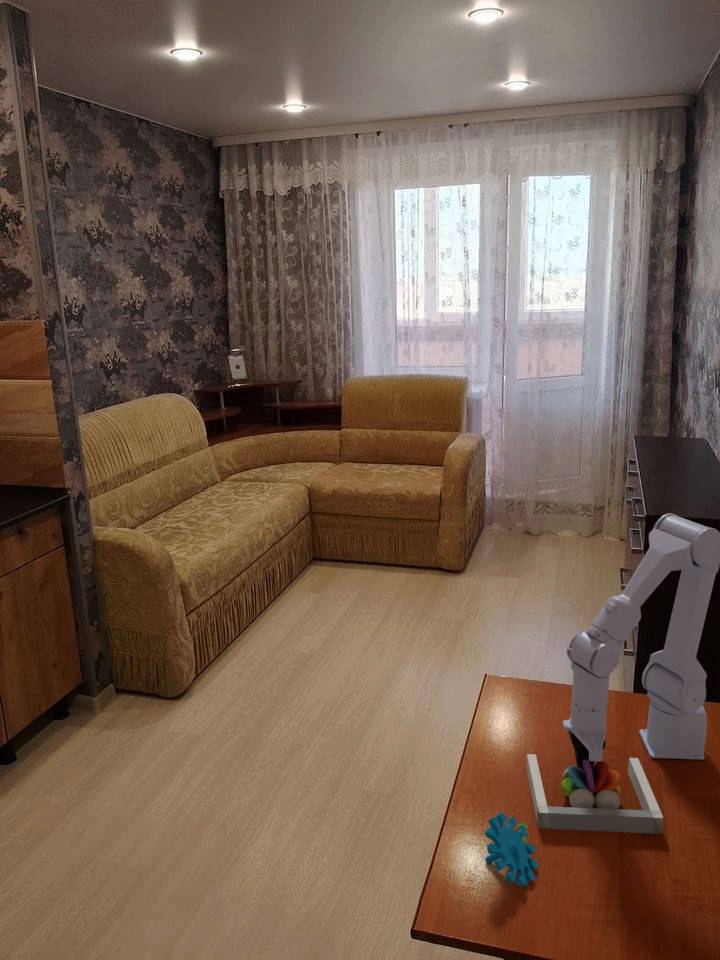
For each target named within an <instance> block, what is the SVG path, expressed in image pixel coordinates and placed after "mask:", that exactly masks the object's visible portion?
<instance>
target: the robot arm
mask: <svg viewBox="0 0 720 960" xmlns="http://www.w3.org/2000/svg"><path fill="white" fill-rule="evenodd" d="M648 544H649V545H648V546H649V548H648V550H647V551H646V553H645V554H644V556H643V558H642V559H641V561H640V563H639V564H638V566H637V568H636V569H635V572H634V573H633V575H632V576H631V577H630V580H629V581H628V583H627V584H626V586H625V588H624V589H623V591H622V593H621V594H619V595H613V596H611V597H609V599H608V600H607V602H606V603H605V604H604V606H603V607H602V608H601V610H600V611H599V613H598V614H597V616H595V618H594V619H593V622H591V624H590V625H589V626H588V628H587V629H586V630H585V631H581V632H579V633H577V634H575V635H574V636H573V638H571V641H570V643H569V646H568V647H567V648H566V655H567V658H568V659H569V661H570V663H571V666H570V668H571V670H572V671H573V673H572V674H573V677H572V687H571V688H572V689H571V691H572V692H571V704H570V717H569V719H564V720H563V721H562V727H563V729H564V730H565V731H567V732H568V735H569V738H570V741H571V744H572V746H573V749H574V750H573V751H574V756H575V762H576V767H579V768H581V769H582V770H583V760H585V759H587V760H589V762H590V765H591V768H593V767H594V765H595V764H596V762H598V761H604V760H603V757H604V750H605V748H606V744H607V743H606V741H605V738H606V734H607V725H606V724H607V723H606V722H607V713H608V712H607V710H608V699H609V687H610V676H611V674H612V673H613V672H614V671H615V669H617V667H618V666H619V663H620V660H621V655H622V652H623V649H624V646H623V644H624V643H625V642H626V640H627V639H628V637H629V636H630V635H631V634H632V632H633V631H634V629H635V627H636V626H637V624H638V623H639V622H640V621H641V618H642V612H641V606H642V605H644V603H645V602H646V601H647V599H648V598H650V596H651V594H653V592H654V591H655V590H656V589H657V587H658V586H659V585H660V584H661V583H662V582H663V580H665V578H666V577H667V576H668V575H669V574H670V573H671V572H674V571H681V572H680V577H679V580H678V586H677V590H676V593H675V594H676V595H675V598H674V603H673V607H672V612H671V614H670V615H671V617H670V620H669V624H668V629H667V633H666V638H665V643H664V646H663V649H662V650H659V651H656V652H653V653H651V654H650V657H649V661H648V663H647V665H646V667H645V669H644V670H643V672H642V677H641V685H642V686H643V689H645V690H646V691H647V695H646V696H647V698H649V706H648V707H649V708H648V719H647V727H646V728H645V729H639V731H638V732H639V735H640V737H641V739H642V742H643V744H644V746H645V748H646V750H647V752H648V753H647V754H648V755H649V757H650V758H651V759H652V758H653V759H672V760H673V759H674V760H675V759H677V760H678V759H681V760H701V761H702V760H705V758H706V756H705V754H704V753H705V745H706V737H707V731H708V730H707V729H708V721H707V719H708V718H707V713H706V712H707V711H706V710H705V707H704V703H705V701H706V699H707V688H706V681H707V677H708V675H707V673H706V671H705V670H704V668H703V667H702V665H701V664H700V662H699V661H698V659H697V654H698V650H699V646H700V641H701V639H702V638H701V636H702V634H703V629H704V624H705V621H706V617H707V612H708V607H709V604H710V599H711V596H712V591H713V586H714V582H715V579H716V574H717V573H719V569H720V531H719V530H718V529H716V528H714V527H713V528H712V527H709V526H705V525H703V524H700V523H697V522H694V521H691V520H689V519H686V518H683V517H681V516H679V515H677V514H675V513H671V512H669V513H665V514H663V515H662V516H660V518H658V520H656V522H655V524H654V526H653V529H651V531H650V532H649V533H648Z"/></svg>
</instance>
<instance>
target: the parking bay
mask: <svg viewBox="0 0 720 960" xmlns="http://www.w3.org/2000/svg"><path fill="white" fill-rule="evenodd" d="M627 766H628V767H627V774H628V777H629V780H630V781H631V784H632V787H633V789H634V792H635V794H636V796H637V798H638V802H639V805H640V807H641V809H642V810H641V809H620V808H618V809H598V808H597V807H596V808H594V807H593V808H574V807H572V806H569V807H568V806H567V807H565V806H550V805H549V806H548V803H547V799H546V794H545V789H544V786H543V782H542V781H543V780H542V777H541V772H540V767H539V763H538V759H537V754H534V753H533V754H531V753H527V754H526V766H525V769H526V773H527V778H528V784H529V788H530V789H529V790H530V794H531V799H532V802H533V803H532V804H533V808H534V809H533V810H534V814H535V819H536V824H537V827H538V828H537V829H541V830H542V829H544V830H547V829H548V830H564V831H565V830H567V831H590V832H591V831H593V832H607V833H608V832H611V833H612V832H613V833H614V832H615V833H632V834H633V833H635V834H654V835H655V834H656V835H657V834H658V835H659V834H660V835H661V834H662V832H663V827H664V826H663V825H664V816H663V814H662V810H661V809H660V806H659V804H658V801H657V799H656V797H655V795H654V792H653V791H652V790H653V789H652V788H651V786H650V783H649V780H648V779H647V776H646V773H645V772H644V768H643V767H642V763H641V762H640V759H639V758H638V757H629V758H628V765H627Z"/></svg>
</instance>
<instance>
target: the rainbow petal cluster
mask: <svg viewBox="0 0 720 960" xmlns="http://www.w3.org/2000/svg"><path fill="white" fill-rule="evenodd" d="M608 765H609V764H608V763H607V761H604V760H602V761H596V762H595V763H594V766H593V768H591V765H590V762H589V760H587V759H585V760H583V770H582V769H581V768H579V767H577V766H575V765H570V766H568V768H566V769H565V770H564V773H563V775H562V781H561V784H560V789H561V791H562V793H563V794H564V795H565V796H566V797H568V799H569V800H568V802H569V804H570V807H574V808H594V805H595V806H596V808H598V809H620V805H621V797H622V790H621V788H620V787H619V785H620V783H621V780H622V777H621V774H620V773H619V772H617V770H613V769H609V766H608Z"/></svg>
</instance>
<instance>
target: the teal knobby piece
mask: <svg viewBox="0 0 720 960" xmlns="http://www.w3.org/2000/svg"><path fill="white" fill-rule="evenodd" d="M487 821H488V824H489V825H490V826H489V827H487V828H486V829H485V831H484V835H485V837H486V838H488V839H489V840H490V841H492V842H490V843H488V844H486V847H487V849H486V850H487V853H488V854H489V855H487V856H485V858H484V860H485V862H486V863H487V864H489V865H490V864H492V863H493V862H494V863H493V864H494V867H495V868H496V870H497V872H500V871H502V870H504V869H505V867H507V868H508V869H509V872H507V873H505V875H504V877H505V880H506V881H507V882H508V883H509V884H513V883H514V882H516V884H517V885H518V886H519V887H521V888H524V887H525V886H527V885H528V883H529V882H531V881H533V880H535V879H536V876H535V873H534V872H533V871H535V870H536V869H537V868H538V865H539V864H538V861H537V860H536V859H534V858H532V857H531V855H533V854H534V853H535V851H536V850H535V845H534V844H533V843H527V842H528V840H527V839H528V836H529V834H528V832H527V830H529V827H528V826H529V825H528V824H527V823H526V822H522V823H519V824H518V821H517V819H516V818H515V817H514V816H510V817H508V818H507V815H506V814H505V813H503V812H499V813H498V814H496V816H493V817H491V818H489V819H487ZM506 821H507V825H506ZM514 827H516V830H515V829H514ZM517 874H518V876H516V875H517ZM516 877H517V878H516Z"/></svg>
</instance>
